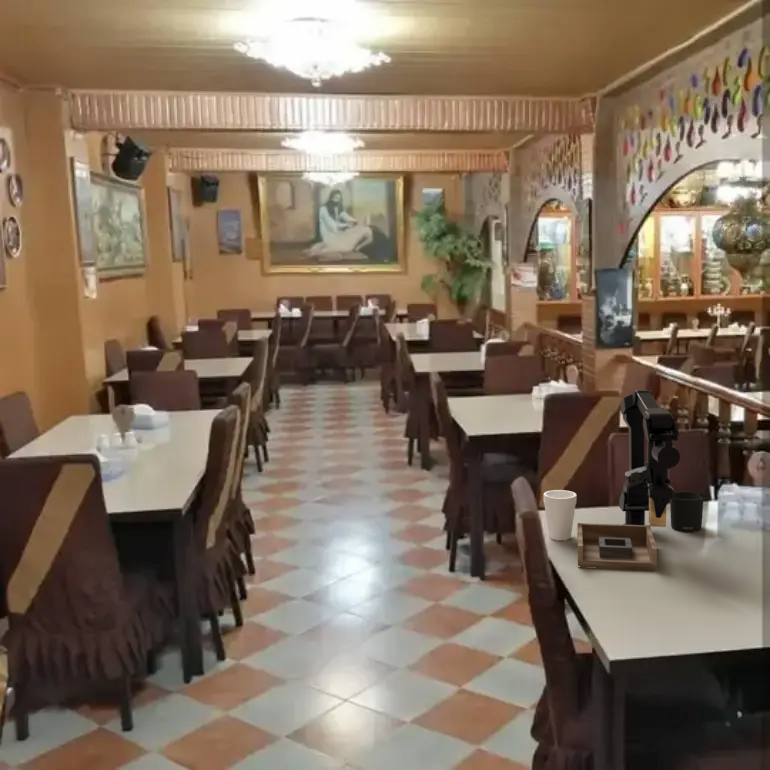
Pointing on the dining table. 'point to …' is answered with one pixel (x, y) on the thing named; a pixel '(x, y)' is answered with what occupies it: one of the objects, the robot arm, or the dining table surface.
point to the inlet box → (616, 546)
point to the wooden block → (652, 516)
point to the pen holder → (686, 511)
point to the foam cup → (559, 513)
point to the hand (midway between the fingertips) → (657, 515)
